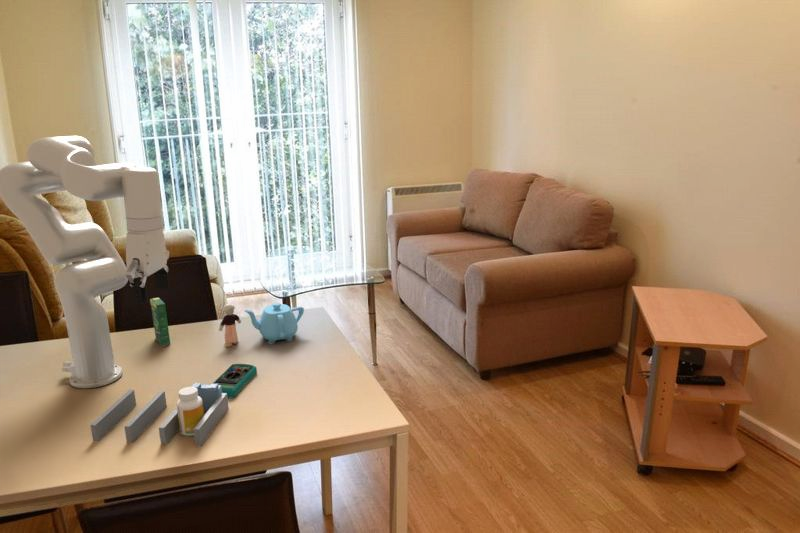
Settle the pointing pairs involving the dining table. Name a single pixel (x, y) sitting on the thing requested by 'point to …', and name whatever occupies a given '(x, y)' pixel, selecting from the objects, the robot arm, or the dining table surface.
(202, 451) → the dining table surface
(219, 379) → the digital multimeter
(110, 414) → the grey parallel walls
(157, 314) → the coffee box
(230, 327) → the grandmother figurine
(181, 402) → the supplement bottle
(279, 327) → the teapot
